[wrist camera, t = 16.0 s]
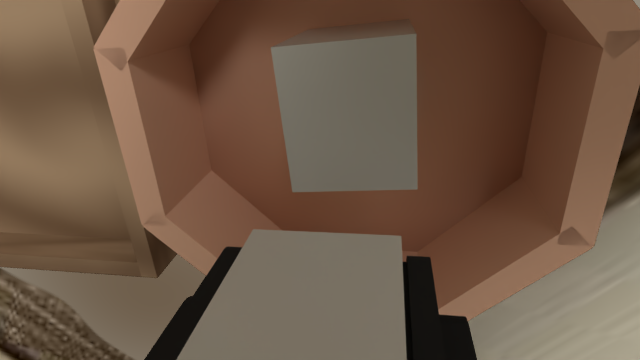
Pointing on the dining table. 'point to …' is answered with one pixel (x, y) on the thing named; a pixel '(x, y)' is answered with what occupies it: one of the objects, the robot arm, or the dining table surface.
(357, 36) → the off-white matte cube
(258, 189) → the bowl
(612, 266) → the dining table surface
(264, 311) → the white sharp-edged block
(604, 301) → the dining table surface
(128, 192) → the walnut tray
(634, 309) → the dining table surface
